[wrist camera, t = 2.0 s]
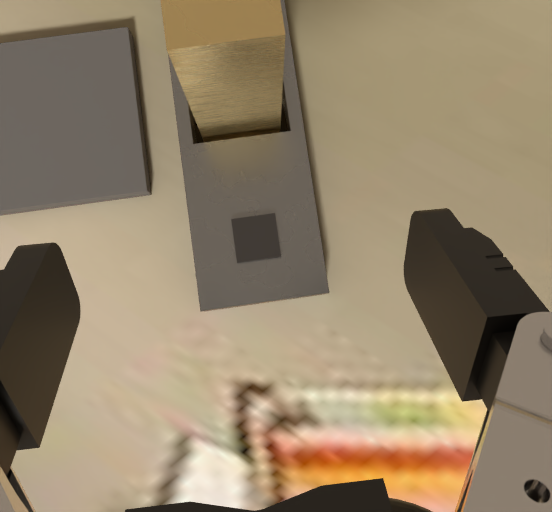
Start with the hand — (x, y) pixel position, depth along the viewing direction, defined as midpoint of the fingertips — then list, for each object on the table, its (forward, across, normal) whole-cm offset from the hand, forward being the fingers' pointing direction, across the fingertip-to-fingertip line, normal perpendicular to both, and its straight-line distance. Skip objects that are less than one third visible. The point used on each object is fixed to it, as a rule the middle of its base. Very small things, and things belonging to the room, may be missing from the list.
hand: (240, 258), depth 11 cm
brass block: (+20, 0, +4) cm, 20 cm away
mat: (+20, +10, +4) cm, 23 cm away
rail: (+20, 0, +3) cm, 20 cm away
